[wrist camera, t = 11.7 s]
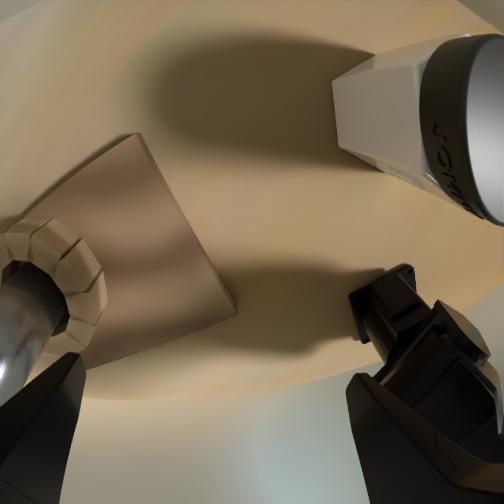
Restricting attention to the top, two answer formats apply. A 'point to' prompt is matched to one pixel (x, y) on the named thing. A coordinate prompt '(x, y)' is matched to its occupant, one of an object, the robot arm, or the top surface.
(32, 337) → the chrome metal cylinder
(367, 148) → the jar
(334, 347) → the top surface
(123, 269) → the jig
